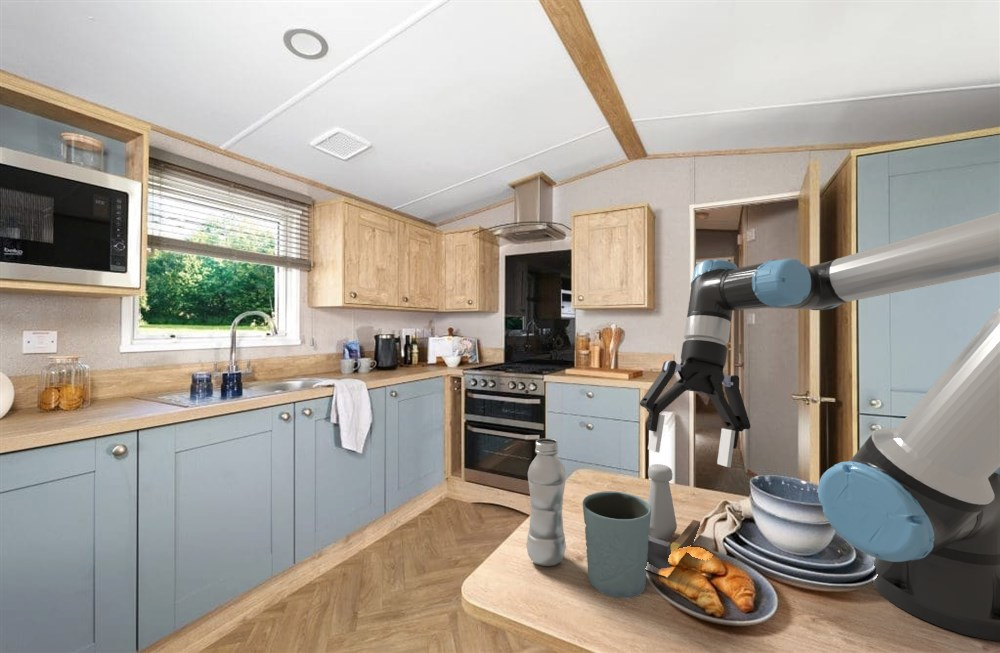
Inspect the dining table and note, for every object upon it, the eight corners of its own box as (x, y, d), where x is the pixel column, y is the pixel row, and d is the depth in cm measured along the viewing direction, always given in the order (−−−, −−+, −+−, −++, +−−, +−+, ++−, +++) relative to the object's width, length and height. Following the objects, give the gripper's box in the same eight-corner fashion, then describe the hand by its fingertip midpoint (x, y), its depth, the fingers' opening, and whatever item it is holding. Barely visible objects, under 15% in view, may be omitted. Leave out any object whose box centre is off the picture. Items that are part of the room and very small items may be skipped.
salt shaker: (671, 528, 81) (671, 461, 81) (681, 543, 76) (681, 472, 76) (640, 527, 82) (640, 460, 82) (647, 542, 76) (648, 470, 76)
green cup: (650, 570, 68) (651, 495, 68) (650, 610, 58) (651, 524, 58) (587, 557, 71) (587, 487, 71) (577, 594, 62) (577, 512, 61)
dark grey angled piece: (700, 534, 79) (700, 508, 79) (667, 578, 65) (667, 546, 65) (640, 516, 86) (640, 492, 86) (600, 552, 73) (600, 523, 73)
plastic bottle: (518, 560, 70) (518, 441, 70) (545, 545, 75) (545, 434, 75) (547, 577, 66) (547, 449, 65) (574, 560, 70) (574, 441, 70)
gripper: (751, 358, 83) (738, 467, 80) (633, 330, 80) (614, 441, 77) (781, 356, 76) (768, 476, 72) (652, 325, 73) (632, 448, 70)
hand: (688, 458), depth 75 cm, fingers open, 13 cm apart
